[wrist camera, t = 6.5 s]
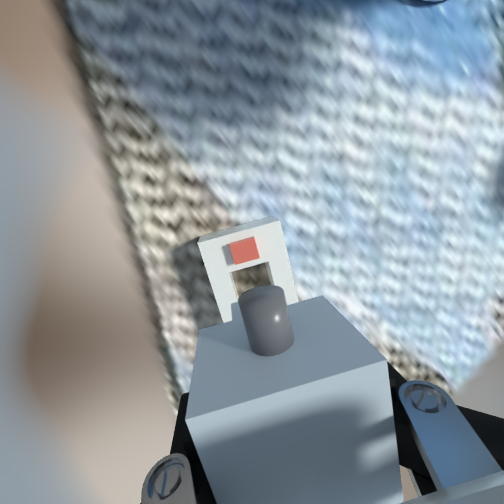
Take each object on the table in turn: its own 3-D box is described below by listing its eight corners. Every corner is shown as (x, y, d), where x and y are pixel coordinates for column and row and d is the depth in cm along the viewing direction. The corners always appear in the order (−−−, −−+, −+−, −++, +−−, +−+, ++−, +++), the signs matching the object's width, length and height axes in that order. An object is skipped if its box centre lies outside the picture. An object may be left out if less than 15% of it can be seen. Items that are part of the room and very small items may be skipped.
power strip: (201, 235, 27) (196, 244, 23) (271, 216, 28) (281, 221, 23) (255, 407, 33) (261, 442, 29) (313, 389, 34) (327, 421, 29)
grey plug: (197, 262, 13) (163, 362, 5) (287, 238, 14) (380, 300, 6) (232, 379, 15) (246, 581, 7) (311, 356, 16) (406, 525, 8)
